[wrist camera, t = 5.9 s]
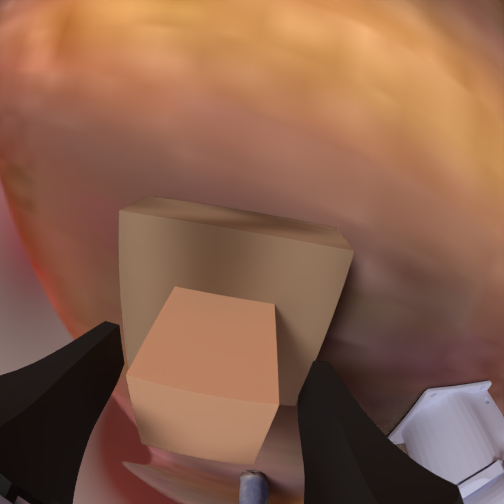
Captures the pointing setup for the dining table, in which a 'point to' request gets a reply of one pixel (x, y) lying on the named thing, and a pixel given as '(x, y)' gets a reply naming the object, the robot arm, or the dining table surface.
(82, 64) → the dining table surface
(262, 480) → the flask
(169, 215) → the base
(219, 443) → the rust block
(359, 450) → the robot arm
